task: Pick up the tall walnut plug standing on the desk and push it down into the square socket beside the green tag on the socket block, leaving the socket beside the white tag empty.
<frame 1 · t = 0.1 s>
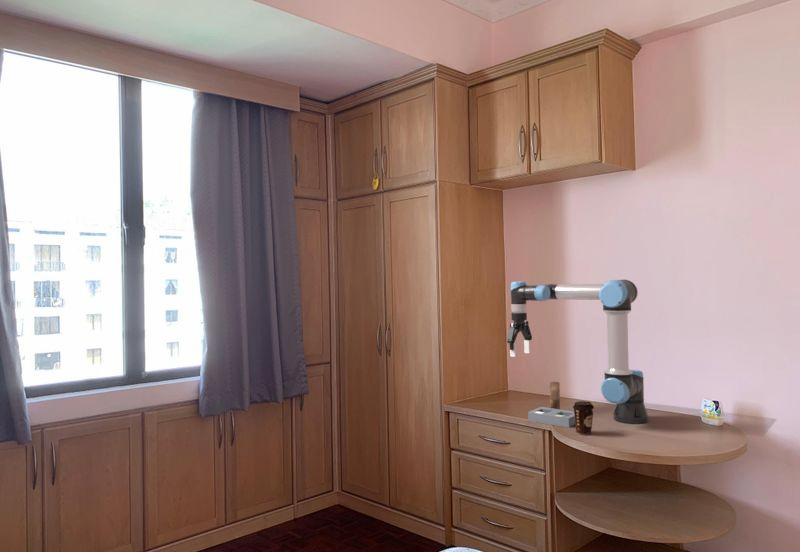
hand: (520, 354, 288), 28 cm above the table, fingers open, 13 cm apart
socket block: (554, 420, 267), on the table
walnut plug: (555, 413, 281), on the table
coffee cup: (584, 433, 247), on the table
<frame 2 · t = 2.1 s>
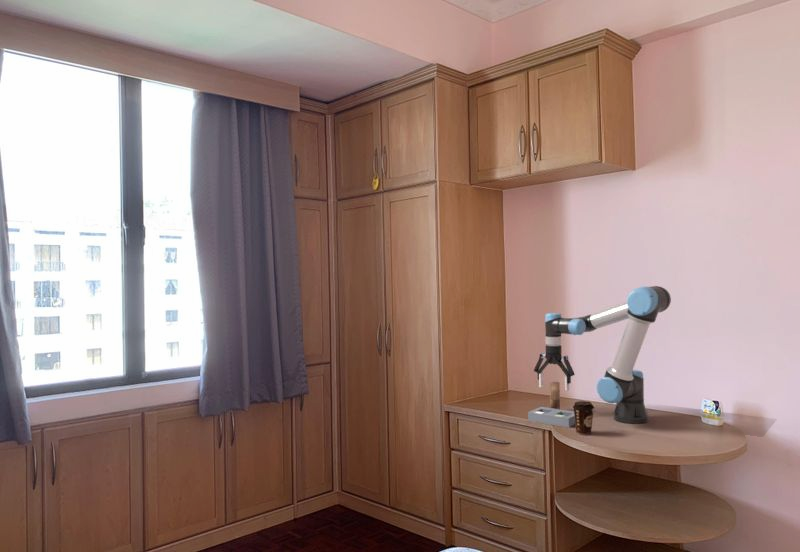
hand: (554, 388, 281), 12 cm above the table, fingers open, 13 cm apart
nothing on the table moved.
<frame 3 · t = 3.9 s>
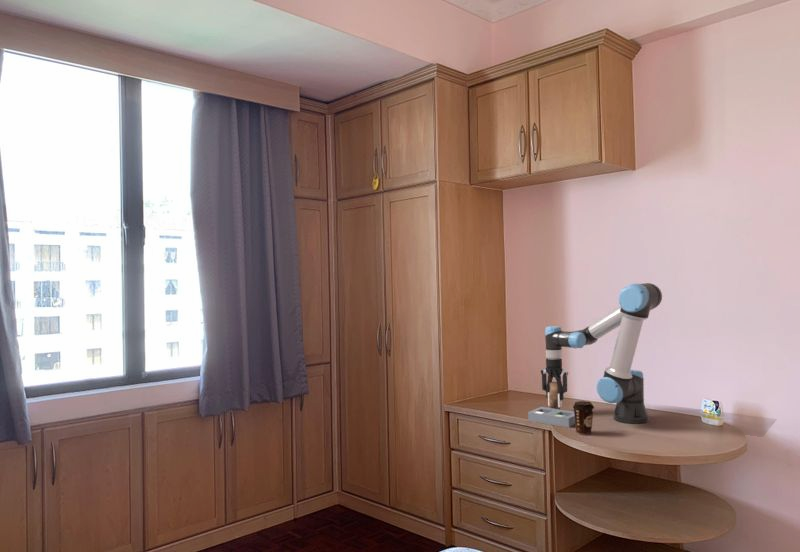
hand: (555, 405, 281), 4 cm above the table, fingers closed on walnut plug, 5 cm apart
walnut plug: (555, 413, 281), on the table, touching gripper
everything else where it was.
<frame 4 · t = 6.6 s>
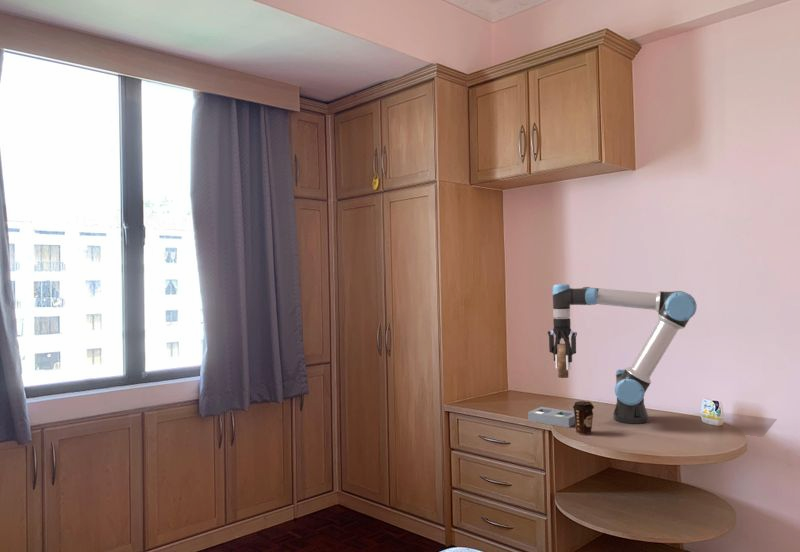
hand: (563, 368, 264), 25 cm above the table, fingers closed on walnut plug, 5 cm apart
walnut plug: (563, 376, 264), point 21 cm above the table, touching gripper
everything else where it was.
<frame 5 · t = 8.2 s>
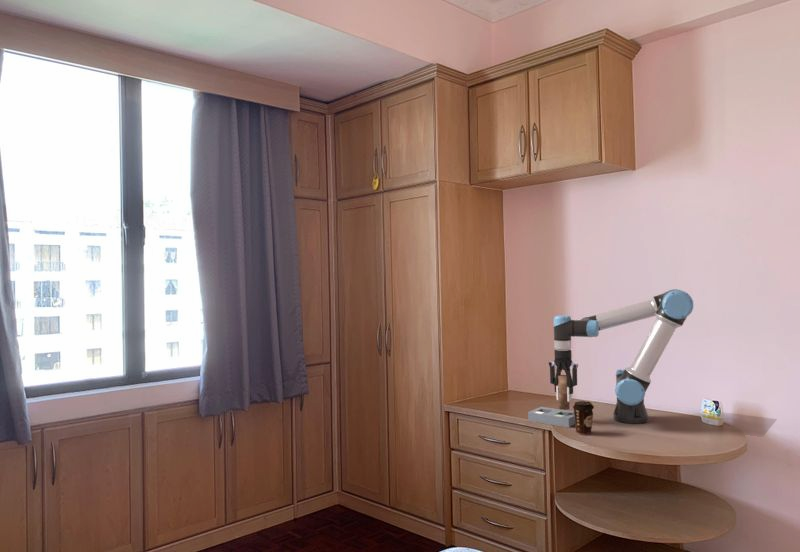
hand: (564, 400, 264), 10 cm above the table, fingers closed on walnut plug, 5 cm apart
walnut plug: (564, 408, 264), point 7 cm above the table, touching gripper
everything else where it was.
when the fingers open (5 cm above the table, at t = 9.5 s): walnut plug drops 1 cm, resting in socket block.
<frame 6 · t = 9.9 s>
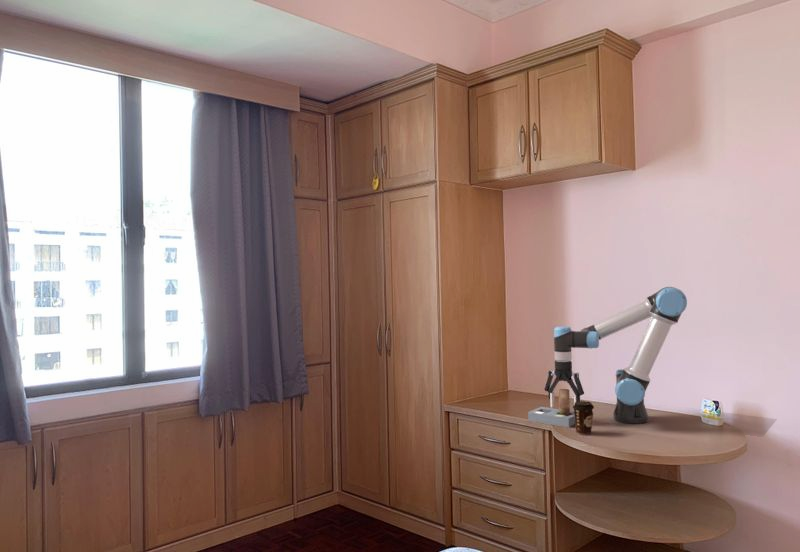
hand: (564, 408, 264), 6 cm above the table, fingers open, 11 cm apart
walnut plug: (564, 422, 264), resting in socket block
everything else where it was.
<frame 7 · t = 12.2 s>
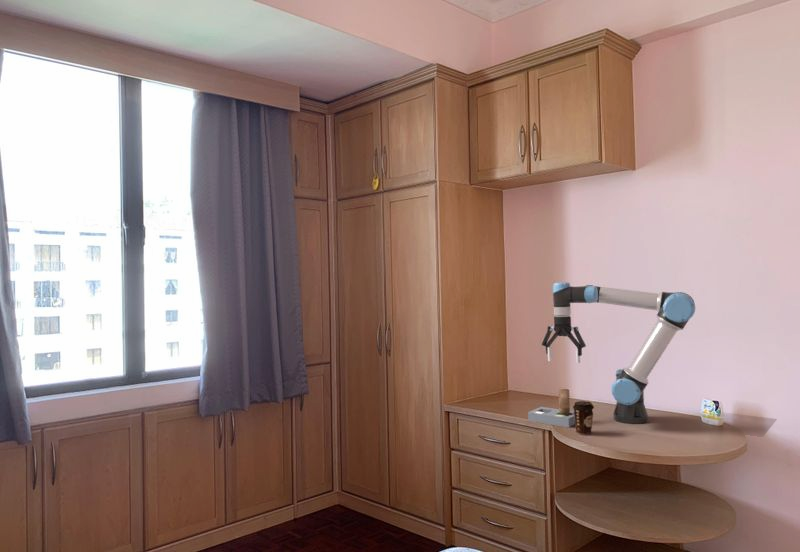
hand: (563, 362, 266), 27 cm above the table, fingers open, 13 cm apart
nothing on the table moved.
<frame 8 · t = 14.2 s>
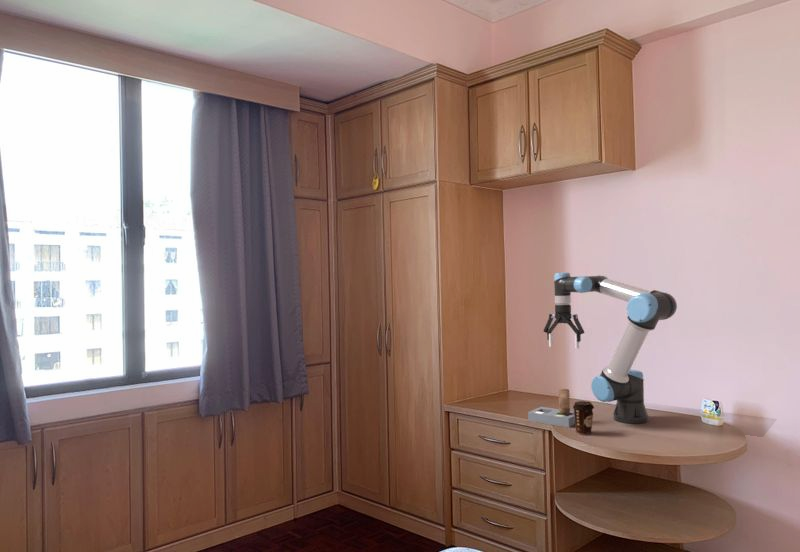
hand: (563, 347, 283), 32 cm above the table, fingers open, 13 cm apart
nothing on the table moved.
at the end: walnut plug 0.1 cm from the target spot, resting in socket block; walnut plug tilted 0°; the gripper is holding nothing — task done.
